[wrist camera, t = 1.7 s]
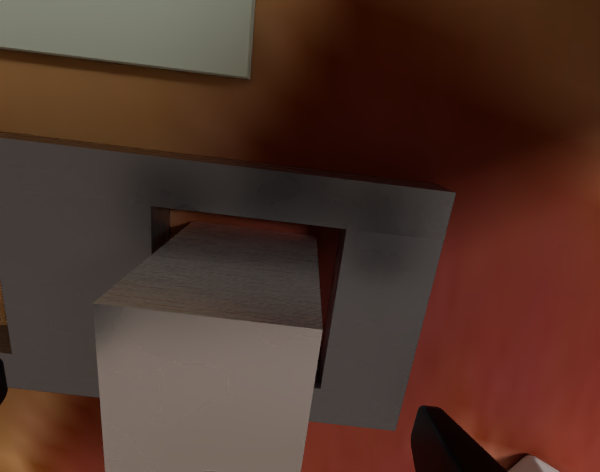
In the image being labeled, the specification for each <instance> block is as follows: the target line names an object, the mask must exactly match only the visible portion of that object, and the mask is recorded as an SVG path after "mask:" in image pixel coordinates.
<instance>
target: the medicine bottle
mask: <svg viewBox="0 0 600 472" xmlns="http://www.w3.org/2000/svg"><path fill="white" fill-rule="evenodd" d="M507 472H560V471H558V470H557V469H555V468H553V467H552V466H550V465H548V464H547V463H545V462H543V461H542V460H540V459H538V458H537V457H535V456H531V455H526V456H525V457H523V458H522V459H521V460H520V461H519V462H518V463H516V464H515V465H514V466H513V467H512V468H511V469H509V470H508V471H507Z"/></svg>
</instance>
